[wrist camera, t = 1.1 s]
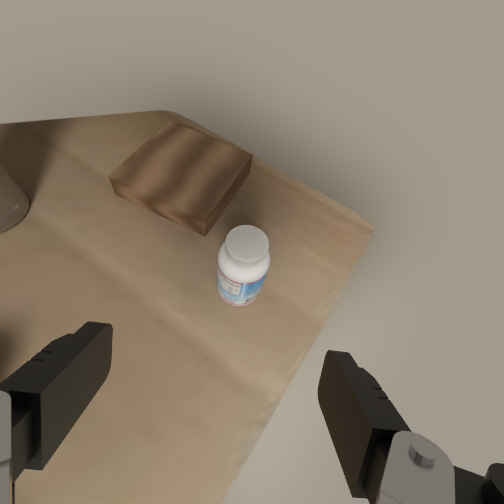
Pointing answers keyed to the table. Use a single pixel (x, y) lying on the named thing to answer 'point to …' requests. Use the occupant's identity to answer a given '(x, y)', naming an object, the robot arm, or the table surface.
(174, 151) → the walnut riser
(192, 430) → the table surface
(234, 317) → the table surface
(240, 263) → the pill bottle
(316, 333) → the table surface
